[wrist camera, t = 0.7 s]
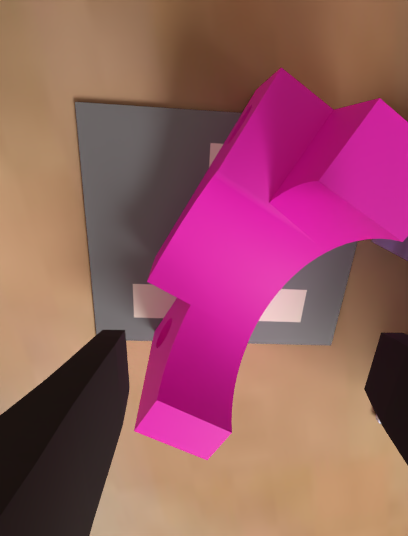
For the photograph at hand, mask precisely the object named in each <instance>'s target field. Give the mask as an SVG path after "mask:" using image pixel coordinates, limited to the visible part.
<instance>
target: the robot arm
mask: <svg viewBox="0 0 408 536" xmlns="http://www.w3.org/2000/svg"><path fill="white" fill-rule="evenodd" d="M365 391H366V394H367V396H368V398H369V400H370V402H371V404H372V406H373V409H374V411H375V412H376V420H377V421H378V423H380V424H382V426H383V427H384V429H385V431H386V432H387V434H388V435H389V437H390V439H391V440H392V442H393V443H394V445H395V446H396V448H397V449H398V451H399V453H400V454H401V456H402V457H403V459H404V460H405V462H406V463H407V465H408V335H406V334H404V333H381V336H380V339H379V342H378V346H377V349H376V352H375V355H374V359H373V362H372V365H371V369H370V372H369V375H368V379H367V382H366V385H365ZM128 394H129V375H128V361H127V348H126V334H125V330H102V331H101V332H99V333H98V334H97V335H96V336H95V337H94V338H93V339H91V340H90V341H89V342H88V343H87V344H86V345H85V346H84V347H82V348H81V349H80V350H79V351H78V352H77V353H76V354H75V355H73V356H72V357H71V358H70V359H69V360H68V361H67V362H66V363H64V364H63V365H62V366H61V367H60V368H59V369H57V370H56V371H55V372H54V373H53V374H52V375H50V376H49V377H48V378H47V379H46V380H45V381H43V382H42V383H41V384H40V385H38V386H37V387H36V388H35V389H33V390H32V391H31V392H29V393H28V394H27V395H26V396H24V397H23V398H22V399H21V400H19V401H18V402H17V403H16V404H14V405H13V406H12V407H11V408H9V409H8V410H7V411H5V412H4V413H3V414H1V415H0V536H89V535H90V531H91V528H92V524H93V520H94V517H95V514H96V511H97V507H98V504H99V501H100V498H101V494H102V491H103V488H104V485H105V481H106V478H107V475H108V472H109V468H110V465H111V462H112V459H113V455H114V452H115V449H116V445H117V442H118V439H119V436H120V432H121V429H122V425H123V421H124V415H125V410H126V405H127V399H128Z"/></svg>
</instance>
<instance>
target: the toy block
mask: <svg viewBox="0 0 408 536" xmlns="http://www.w3.org/2000/svg"><path fill="white" fill-rule="evenodd" d="M407 237H408V122H407V121H406V120H405V119H404V118H402V117H401V116H400V115H399V114H398V113H397V112H395V111H394V110H393V109H392V108H391V107H390V106H388V105H387V104H386V103H385V102H384V101H383V100H382V99H380V98H378V99H374V100H370V101H366V102H362V103H358V104H354V105H351V106H347V107H343V108H339V109H335V110H333V109H332V108H331V107H330V106H328V105H327V104H326V103H325V102H323V101H322V100H321V99H320V98H319V97H317V96H316V95H315V94H314V93H312V92H311V91H310V90H309V89H307V88H306V87H305V86H304V85H302V84H301V83H300V82H299V81H297V80H296V79H295V78H294V77H293V76H291V75H290V74H289V73H288V72H286V71H285V70H284V69H283V68H280V69H279V70H278V71H277V72H276V73H274V74H273V75H272V76H271V77H270V78H269V79H268V80H266V81H265V82H264V83H263V84H262V85H261V86H260V87H259V88H257V89H256V91H255V93H254V94H253V96H252V98H251V99H250V101H249V102H248V104H247V106H246V107H245V109H244V111H243V112H242V114H241V116H240V117H239V119H238V121H237V122H236V124H235V126H234V127H233V129H232V131H231V132H230V134H229V136H228V137H227V139H226V141H225V142H224V144H223V146H222V147H221V149H220V150H219V152H218V154H217V155H216V157H215V159H214V160H213V162H212V164H211V165H210V167H209V169H208V170H207V172H206V174H205V175H204V177H203V179H202V180H201V182H200V184H199V185H198V187H197V189H196V190H195V192H194V194H193V195H192V197H191V199H190V200H189V202H188V203H187V205H186V207H185V208H184V210H183V212H182V213H181V215H180V217H179V218H178V220H177V222H176V223H175V225H174V227H173V228H172V230H171V232H170V233H169V235H168V237H167V238H166V240H165V242H164V243H163V245H162V247H161V248H160V250H159V251H158V253H157V255H156V256H155V259H154V262H153V265H152V268H151V271H150V274H149V277H148V280H147V282H149V283H150V284H152V285H154V286H156V287H158V288H160V289H162V290H164V291H166V292H167V293H169V294H171V295H173V296H175V297H177V299H176V300H175V302H174V303H173V305H172V306H171V308H170V309H169V311H168V312H167V314H166V315H165V317H164V318H163V320H162V321H161V323H160V324H159V326H158V327H157V329H156V330H155V332H154V336H153V341H152V346H151V351H150V356H149V361H148V366H147V370H146V375H145V380H144V385H143V390H142V395H141V400H140V405H139V410H138V415H137V419H136V424H135V429H134V431H135V432H138V433H140V434H143V435H145V436H148V437H150V438H153V439H155V440H158V441H160V442H163V443H165V444H168V445H170V446H173V447H175V448H178V449H180V450H183V451H185V452H188V453H190V454H193V455H195V456H198V457H200V458H203V459H205V460H208V459H209V458H210V457H211V455H212V454H213V453H214V452H215V451H216V450H217V449H218V448H219V446H220V445H221V444H222V443H223V442H224V441H225V440H226V439H227V438H228V436H229V435H230V434H231V433H232V424H231V418H232V402H233V394H234V388H235V383H236V378H237V374H238V370H239V366H240V363H241V360H242V357H243V354H244V351H245V349H246V346H247V343H248V341H249V339H250V337H251V334H252V332H253V330H254V328H255V326H256V325H257V323H258V321H259V319H260V318H261V316H262V314H263V313H264V311H265V310H266V308H267V307H268V305H269V304H270V302H271V301H272V300H273V298H274V297H275V296H276V294H277V293H278V292H279V291H280V290H281V288H282V287H283V286H284V285H285V284H286V283H287V282H288V281H289V280H290V279H291V278H292V277H293V276H294V275H295V274H296V273H297V272H299V271H300V270H301V269H302V268H303V267H305V266H306V265H307V264H308V263H310V262H311V261H313V260H314V259H316V258H317V257H319V256H321V255H322V254H324V253H326V252H328V251H330V250H332V249H334V248H336V247H339V246H342V245H344V244H347V243H351V242H355V241H360V240H366V239H391V240H395V241H400V242H403V241H404V240H405V239H406V238H407Z"/></svg>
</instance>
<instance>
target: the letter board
mask: <svg viewBox="0 0 408 536" xmlns="http://www.w3.org/2000/svg"><path fill="white" fill-rule="evenodd" d="M75 108H76V119H77V129H78V140H79V151H80V162H81V173H82V183H83V194H84V205H85V216H86V226H87V237H88V248H89V259H90V269H91V280H92V291H93V302H94V312H95V323H96V334H98V333H99V332H101V331H102V330H125V334H126V340H134V341H153V336H154V332H155V330H156V329H157V327H158V326H159V324H160V323H161V321H162V320H163V318H164V317H165V315H166V314H167V312H168V311H169V309H170V308H171V306H172V305H173V303H174V302H175V300H176V299H177V297H175V296H173V295H171V294H169V293H167V292H166V291H164V290H162V289H160V288H158V287H156V286H154V285H152V284H150V283H149V282H147V280H148V277H149V274H150V271H151V268H152V265H153V262H154V259H155V256H156V255H157V253H158V251H159V250H160V248H161V247H162V245H163V243H164V242H165V240H166V238H167V237H168V235H169V233H170V232H171V230H172V228H173V227H174V225H175V223H176V222H177V220H178V218H179V217H180V215H181V213H182V212H183V210H184V208H185V207H186V205H187V203H188V202H189V200H190V199H191V197H192V195H193V194H194V192H195V190H196V189H197V187H198V185H199V184H200V182H201V180H202V179H203V177H204V175H205V174H206V172H207V170H208V169H209V167H210V165H211V164H212V162H213V160H214V159H215V157H216V155H217V154H218V152H219V150H220V149H221V147H222V146H223V144H224V142H225V141H226V139H227V137H228V136H229V134H230V132H231V131H232V129H233V127H234V126H235V124H236V122H237V121H238V119H239V117H240V116H241V114H242V113H236V112H221V111H206V110H191V109H175V108H160V107H145V106H130V105H115V104H100V103H84V102H75ZM357 242H358V241H355V242H351V243H347V244H344V245H342V246H339V247H336V248H334V249H332V250H330V251H328V252H326V253H324V254H322V255H321V256H319V257H317V258H316V259H314V260H313V261H311V262H310V263H308V264H307V265H306V266H305V267H303V268H302V269H301V270H300V271H299V272H297V273H296V274H295V275H294V276H293V277H292V278H291V279H290V280H289V281H288V282H287V283H286V284H285V285H284V286H283V287H282V288H281V290H280V291H279V292H278V293H277V294H276V296H275V297H274V298H273V300H272V301H271V302H270V304H269V305H268V307H267V308H266V310H265V311H264V313H263V314H262V316H261V318H260V319H259V321H258V323H257V325H256V326H255V328H254V330H253V332H252V334H251V337H250V339H249V341H248V343H256V344H296V345H331V344H332V340H333V336H334V332H335V328H336V324H337V320H338V316H339V312H340V308H341V305H342V301H343V297H344V293H345V289H346V285H347V281H348V277H349V273H350V270H351V266H352V262H353V258H354V254H355V250H356V246H357Z"/></svg>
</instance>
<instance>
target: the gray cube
mask: <svg viewBox="0 0 408 536" xmlns="http://www.w3.org/2000/svg"><path fill="white" fill-rule="evenodd" d="M371 242H373V243H375V244H377V245H379V246H381V247H383V248H384V249H386V250H388V251H390V252H392V253H394V254H396V255H397V256H399V257H401V258H403V259H405V260H407V261H408V237H407V238H406V239H405V240H404V241H403V242H400V241H395V240H391V239H372V241H371Z"/></svg>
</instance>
